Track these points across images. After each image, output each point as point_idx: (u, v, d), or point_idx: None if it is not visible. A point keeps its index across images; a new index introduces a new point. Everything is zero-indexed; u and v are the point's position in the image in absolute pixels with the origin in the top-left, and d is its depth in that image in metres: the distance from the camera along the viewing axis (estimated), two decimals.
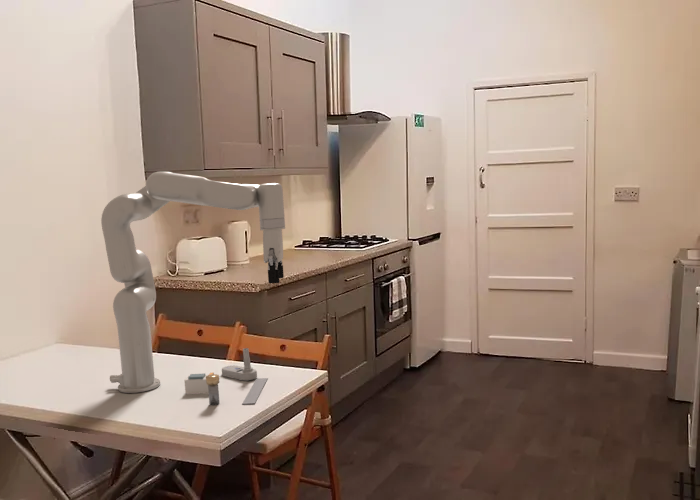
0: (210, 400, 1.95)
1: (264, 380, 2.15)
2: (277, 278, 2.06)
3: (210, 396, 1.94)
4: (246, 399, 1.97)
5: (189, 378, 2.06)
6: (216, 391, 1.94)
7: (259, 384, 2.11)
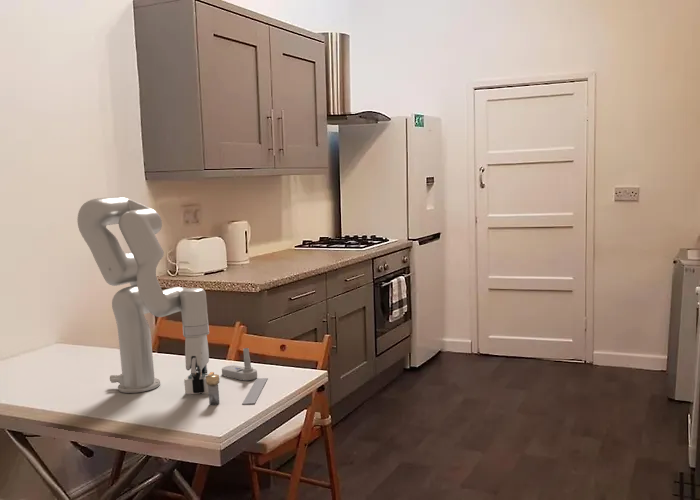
0: (210, 400, 1.95)
1: (264, 380, 2.15)
2: (202, 388, 2.05)
3: (210, 396, 1.94)
4: (246, 399, 1.97)
5: (189, 377, 2.07)
6: (216, 391, 1.94)
7: (259, 384, 2.11)
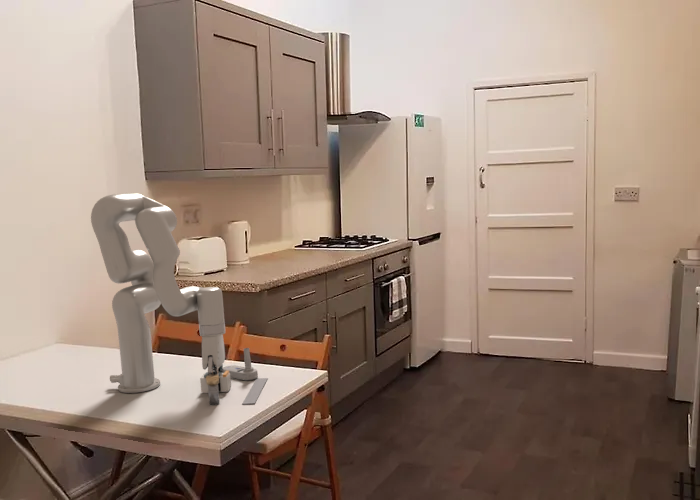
0: (210, 400, 1.95)
1: (264, 380, 2.15)
2: (218, 387, 2.05)
3: (210, 396, 1.94)
4: (246, 399, 1.97)
5: (205, 376, 2.06)
6: (216, 391, 1.94)
7: (259, 384, 2.11)
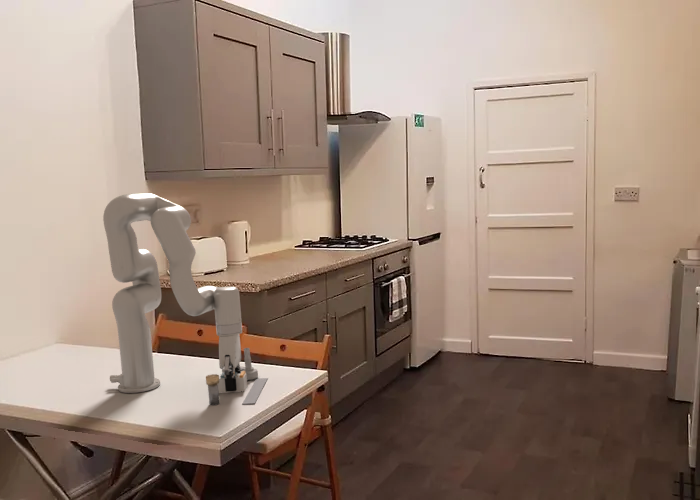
0: (210, 400, 1.95)
1: (264, 380, 2.15)
2: (234, 386, 2.04)
3: (210, 396, 1.94)
4: (246, 399, 1.97)
5: (221, 377, 2.06)
6: (216, 391, 1.94)
7: (259, 384, 2.11)
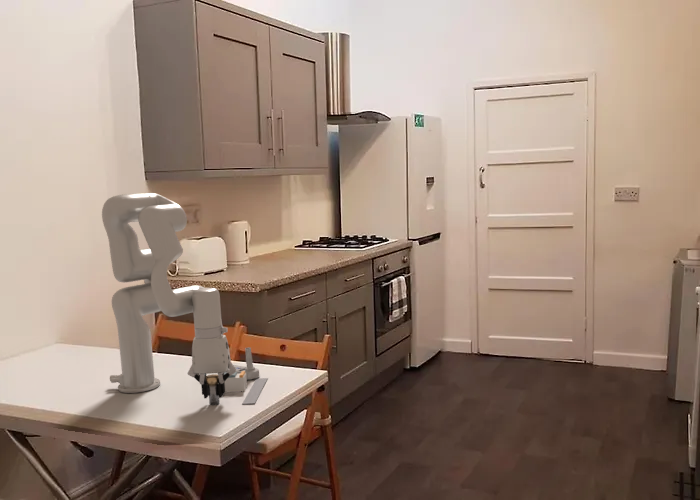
0: (210, 400, 1.95)
1: (264, 380, 2.15)
2: None
3: (210, 396, 1.94)
4: (246, 399, 1.97)
5: None
6: (216, 391, 1.94)
7: (259, 384, 2.11)
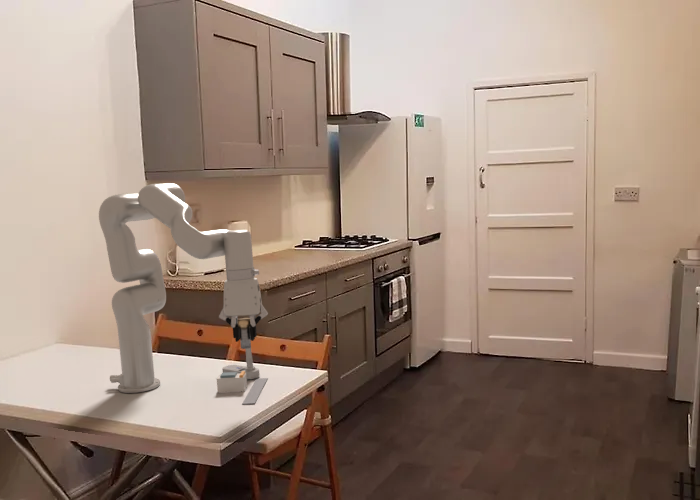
0: (242, 343, 1.92)
1: (264, 380, 2.15)
2: None
3: (242, 339, 1.92)
4: (246, 399, 1.97)
5: (221, 377, 2.06)
6: (248, 334, 1.92)
7: (259, 384, 2.11)
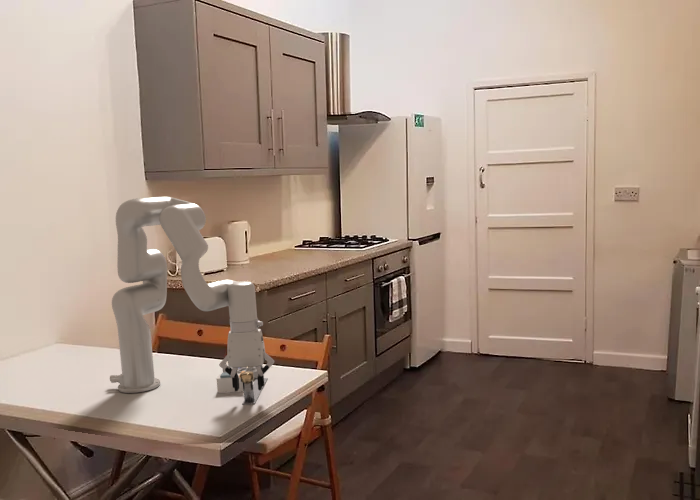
0: (245, 397, 1.94)
1: (264, 380, 2.15)
2: None
3: (245, 393, 1.94)
4: None
5: (221, 376, 2.06)
6: (251, 388, 1.94)
7: None
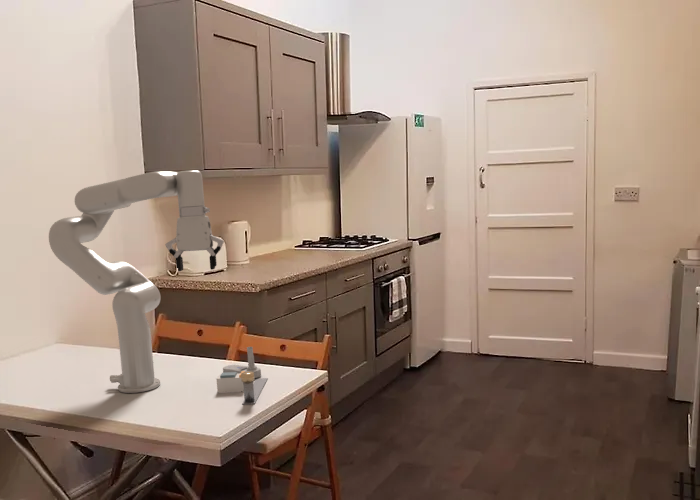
0: (245, 397, 1.94)
1: (264, 380, 2.15)
2: None
3: (245, 393, 1.94)
4: None
5: (221, 376, 2.06)
6: (251, 388, 1.94)
7: (259, 384, 2.11)
